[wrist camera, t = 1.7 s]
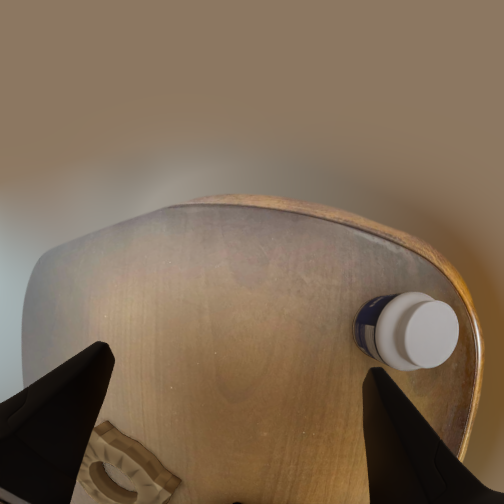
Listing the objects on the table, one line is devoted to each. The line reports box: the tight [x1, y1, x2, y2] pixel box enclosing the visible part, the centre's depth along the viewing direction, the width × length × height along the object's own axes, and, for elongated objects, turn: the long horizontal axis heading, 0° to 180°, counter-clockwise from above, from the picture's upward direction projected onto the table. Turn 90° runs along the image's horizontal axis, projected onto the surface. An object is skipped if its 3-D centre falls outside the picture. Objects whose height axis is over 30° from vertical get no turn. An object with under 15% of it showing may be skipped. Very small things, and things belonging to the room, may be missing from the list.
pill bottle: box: [353, 292, 459, 371], centre depth 18 cm, size 5×5×10 cm
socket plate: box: [77, 421, 181, 504], centre depth 20 cm, size 11×11×3 cm
